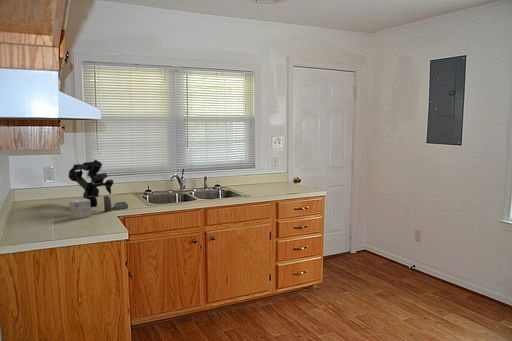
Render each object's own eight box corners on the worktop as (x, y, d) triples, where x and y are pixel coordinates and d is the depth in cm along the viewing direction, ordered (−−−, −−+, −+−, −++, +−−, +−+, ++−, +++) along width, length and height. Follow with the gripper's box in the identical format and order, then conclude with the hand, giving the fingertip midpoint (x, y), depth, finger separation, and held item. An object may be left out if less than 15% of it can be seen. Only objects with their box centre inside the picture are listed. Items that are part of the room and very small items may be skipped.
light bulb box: (86, 214, 259) (85, 198, 257) (91, 216, 255) (90, 199, 253) (69, 217, 251) (68, 200, 249) (75, 219, 246) (73, 202, 245)
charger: (104, 211, 265) (103, 196, 264) (104, 210, 269) (103, 195, 268) (111, 211, 267) (111, 195, 266) (111, 209, 271) (110, 194, 270)
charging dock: (115, 209, 272) (114, 204, 272) (113, 206, 280) (113, 202, 279) (128, 208, 276) (127, 203, 275) (126, 205, 283) (126, 201, 283)
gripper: (85, 170, 263) (94, 189, 258) (111, 167, 277) (121, 185, 272) (80, 181, 269) (89, 199, 264) (106, 178, 283) (115, 195, 278)
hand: (104, 194), depth 269 cm, fingers open, 9 cm apart
